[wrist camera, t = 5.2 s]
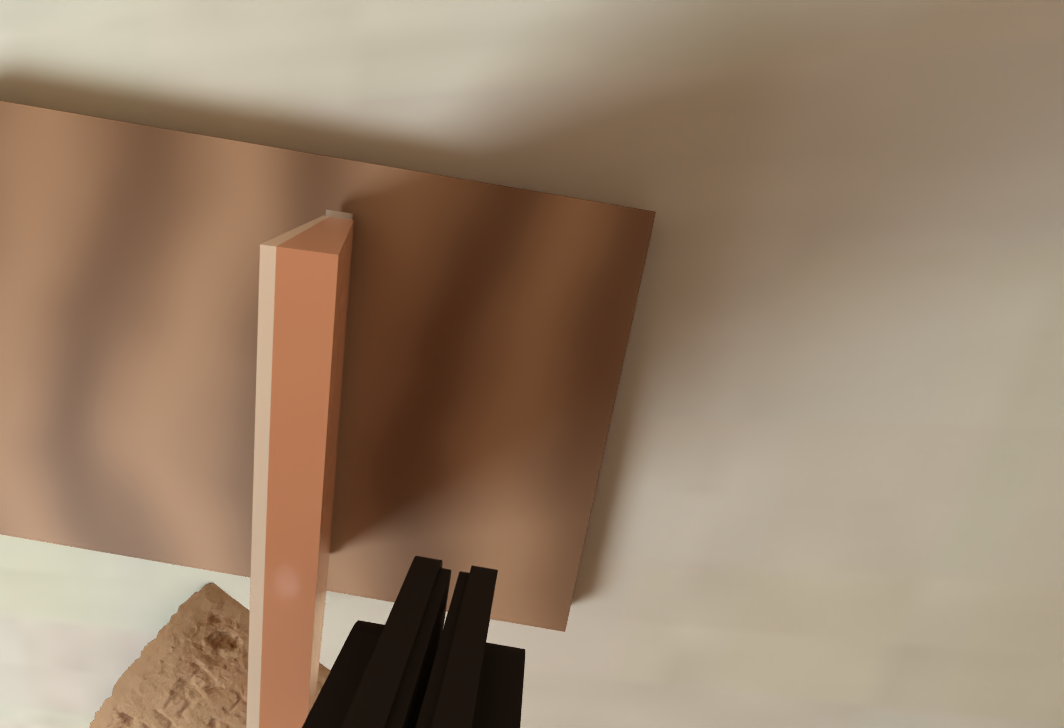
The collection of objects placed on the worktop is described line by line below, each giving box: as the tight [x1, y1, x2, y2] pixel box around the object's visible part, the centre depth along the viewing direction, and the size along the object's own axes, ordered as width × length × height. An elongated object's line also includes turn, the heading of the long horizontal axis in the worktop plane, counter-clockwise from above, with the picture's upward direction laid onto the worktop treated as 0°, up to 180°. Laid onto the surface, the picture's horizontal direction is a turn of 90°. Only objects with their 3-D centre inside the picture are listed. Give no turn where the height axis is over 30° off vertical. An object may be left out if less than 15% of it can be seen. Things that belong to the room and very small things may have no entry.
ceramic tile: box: [246, 210, 354, 728], centre depth 15 cm, size 13×14×1 cm
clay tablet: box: [90, 583, 330, 728], centre depth 26 cm, size 14×10×3 cm
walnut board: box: [0, 101, 656, 632], centre depth 21 cm, size 26×18×2 cm
